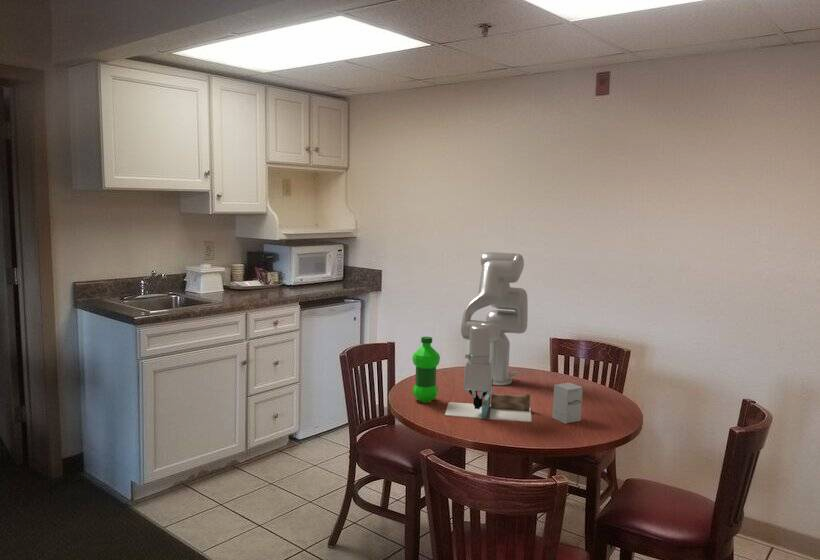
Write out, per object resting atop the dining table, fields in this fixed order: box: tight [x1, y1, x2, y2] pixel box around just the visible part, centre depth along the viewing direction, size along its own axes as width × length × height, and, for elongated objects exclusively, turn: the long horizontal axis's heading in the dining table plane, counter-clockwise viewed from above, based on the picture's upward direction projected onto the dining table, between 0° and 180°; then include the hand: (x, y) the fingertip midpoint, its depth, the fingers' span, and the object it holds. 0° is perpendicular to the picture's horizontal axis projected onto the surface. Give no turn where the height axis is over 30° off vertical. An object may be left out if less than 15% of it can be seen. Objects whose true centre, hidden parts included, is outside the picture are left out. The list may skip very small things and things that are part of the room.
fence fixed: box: [490, 393, 531, 411], centre depth 230 cm, size 14×2×6 cm, turn 80°
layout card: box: [444, 401, 533, 423], centre depth 227 cm, size 31×16×1 cm, turn 80°
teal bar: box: [481, 394, 491, 418], centre depth 225 cm, size 15×2×5 cm, turn 167°
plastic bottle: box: [412, 336, 441, 403], centre depth 239 cm, size 10×10×25 cm
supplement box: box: [551, 382, 584, 424], centre depth 221 cm, size 7×7×13 cm
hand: (477, 407), depth 224 cm, fingers closed
